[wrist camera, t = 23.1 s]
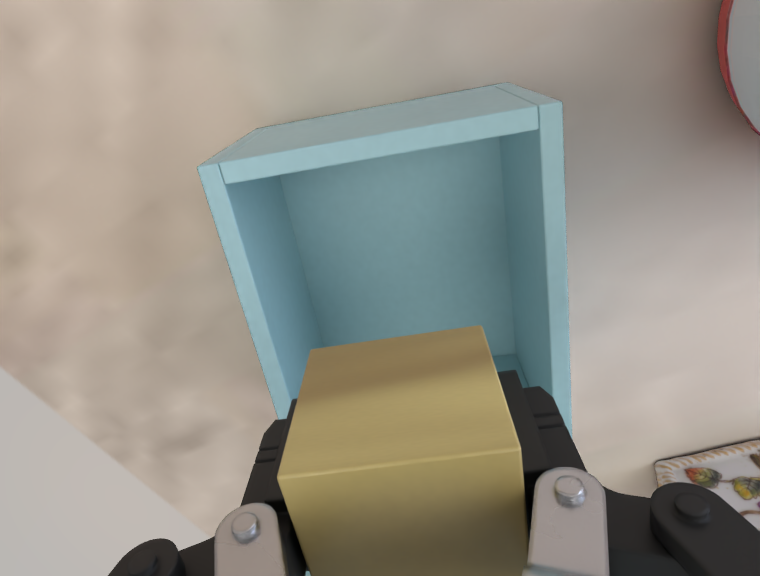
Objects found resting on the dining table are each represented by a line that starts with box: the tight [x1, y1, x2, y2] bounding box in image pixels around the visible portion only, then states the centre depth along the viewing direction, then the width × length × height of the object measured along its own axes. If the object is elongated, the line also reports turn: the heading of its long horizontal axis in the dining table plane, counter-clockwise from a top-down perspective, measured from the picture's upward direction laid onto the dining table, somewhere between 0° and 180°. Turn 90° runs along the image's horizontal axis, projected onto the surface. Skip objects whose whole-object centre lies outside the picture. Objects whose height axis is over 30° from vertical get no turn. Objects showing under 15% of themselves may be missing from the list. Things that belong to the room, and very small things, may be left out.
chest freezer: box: [197, 82, 572, 438], centre depth 25 cm, size 16×13×9 cm
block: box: [277, 325, 529, 576], centre depth 12 cm, size 4×4×4 cm
